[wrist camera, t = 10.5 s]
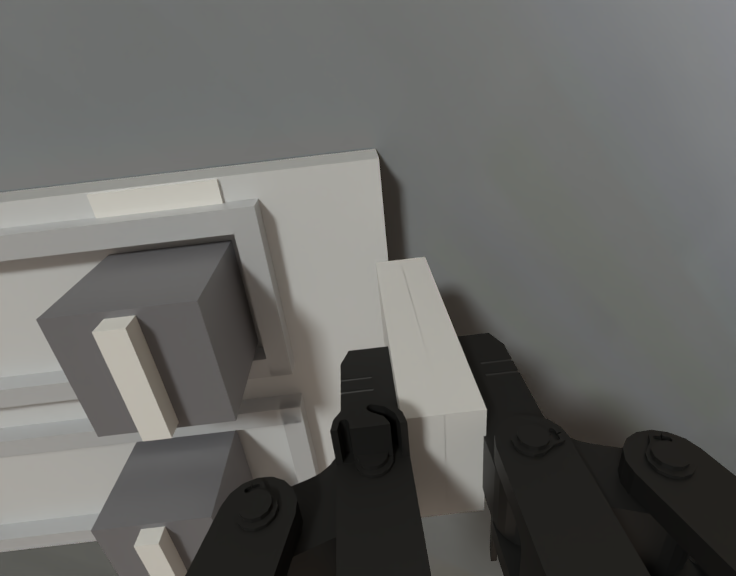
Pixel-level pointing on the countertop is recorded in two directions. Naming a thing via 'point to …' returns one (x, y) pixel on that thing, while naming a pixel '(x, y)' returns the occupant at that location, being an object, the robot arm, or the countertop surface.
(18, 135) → the countertop surface
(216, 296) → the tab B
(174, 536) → the tab
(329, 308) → the switch board
